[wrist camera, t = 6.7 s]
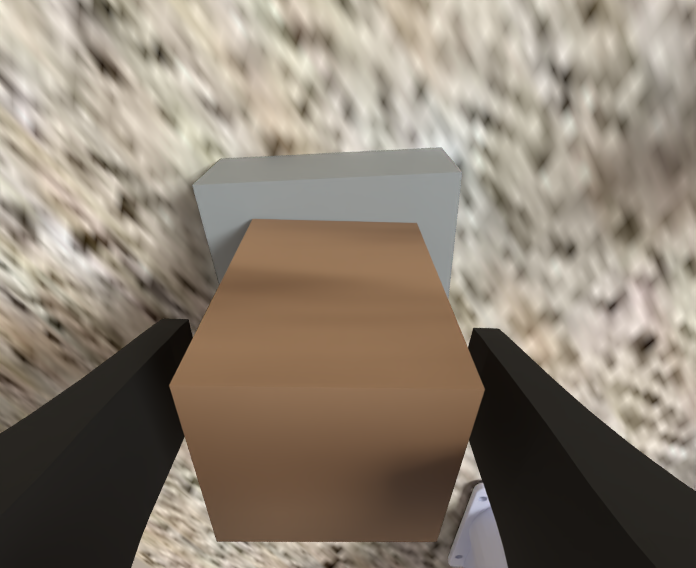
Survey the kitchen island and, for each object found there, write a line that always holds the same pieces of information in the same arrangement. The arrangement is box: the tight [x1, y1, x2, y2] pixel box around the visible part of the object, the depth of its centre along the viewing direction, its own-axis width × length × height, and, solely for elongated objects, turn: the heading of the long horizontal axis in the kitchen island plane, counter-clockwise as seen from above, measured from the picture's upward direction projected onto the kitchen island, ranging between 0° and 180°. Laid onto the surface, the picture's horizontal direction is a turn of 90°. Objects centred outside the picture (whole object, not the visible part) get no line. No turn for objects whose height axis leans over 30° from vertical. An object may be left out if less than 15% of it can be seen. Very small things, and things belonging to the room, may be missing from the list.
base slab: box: [192, 148, 462, 298], centre depth 13 cm, size 7×7×3 cm
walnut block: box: [169, 219, 485, 542], centre depth 9 cm, size 4×4×6 cm
